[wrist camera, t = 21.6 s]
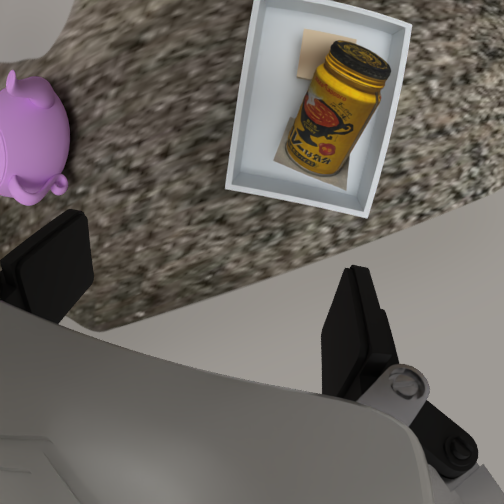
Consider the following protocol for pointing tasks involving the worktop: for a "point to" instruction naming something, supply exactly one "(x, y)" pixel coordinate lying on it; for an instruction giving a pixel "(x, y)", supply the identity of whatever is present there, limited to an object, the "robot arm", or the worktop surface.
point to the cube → (315, 51)
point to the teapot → (32, 140)
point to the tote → (291, 97)
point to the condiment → (334, 113)
